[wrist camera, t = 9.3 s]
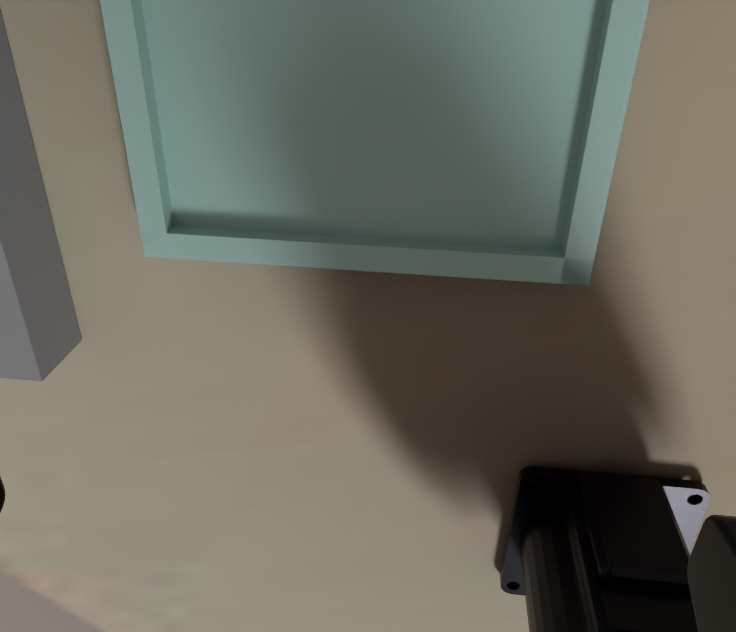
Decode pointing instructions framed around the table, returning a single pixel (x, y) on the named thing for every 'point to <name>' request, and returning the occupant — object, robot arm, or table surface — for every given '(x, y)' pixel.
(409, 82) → the tray
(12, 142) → the pdu strip
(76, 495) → the table surface
